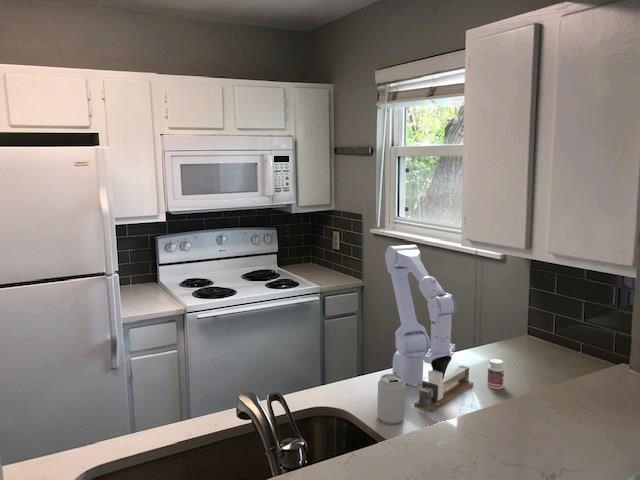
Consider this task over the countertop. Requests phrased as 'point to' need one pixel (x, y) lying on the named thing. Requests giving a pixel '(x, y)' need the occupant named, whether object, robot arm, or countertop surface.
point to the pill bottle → (495, 374)
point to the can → (391, 398)
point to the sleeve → (436, 381)
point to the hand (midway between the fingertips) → (438, 379)
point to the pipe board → (445, 389)
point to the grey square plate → (434, 389)
